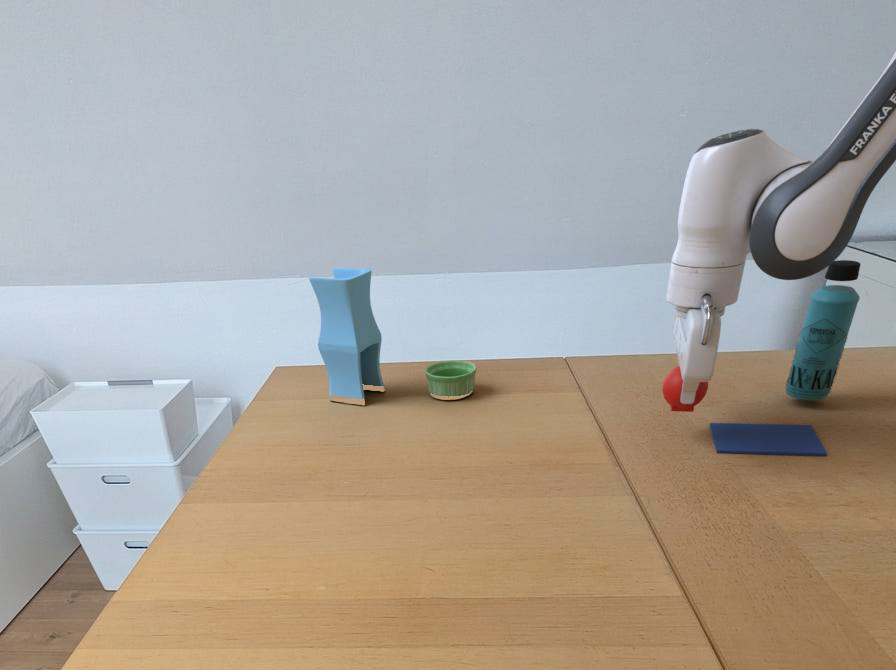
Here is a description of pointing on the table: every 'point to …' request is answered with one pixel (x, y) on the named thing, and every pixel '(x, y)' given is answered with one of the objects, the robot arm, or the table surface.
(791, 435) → the cloth
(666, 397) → the red ball with base
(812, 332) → the beverage bottle
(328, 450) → the table surface
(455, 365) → the ramekin
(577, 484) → the table surface
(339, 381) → the vase
